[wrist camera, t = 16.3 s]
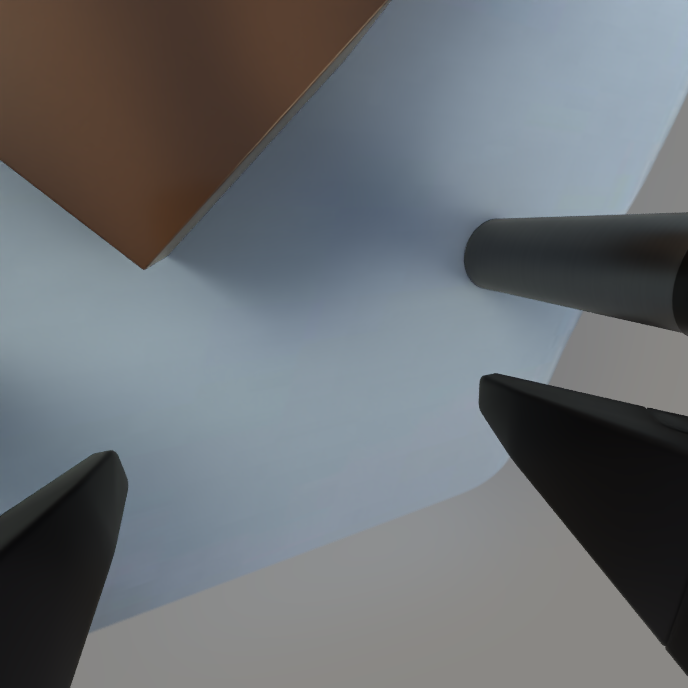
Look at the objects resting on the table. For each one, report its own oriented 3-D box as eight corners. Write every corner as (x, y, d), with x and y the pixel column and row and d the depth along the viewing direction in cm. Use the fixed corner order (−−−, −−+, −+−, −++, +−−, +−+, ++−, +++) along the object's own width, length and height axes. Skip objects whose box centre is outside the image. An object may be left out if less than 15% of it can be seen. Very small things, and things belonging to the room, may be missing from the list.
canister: (470, 301, 24) (698, 366, 13) (455, 232, 23) (704, 236, 11) (526, 274, 25) (786, 313, 14) (516, 206, 23) (806, 185, 12)
